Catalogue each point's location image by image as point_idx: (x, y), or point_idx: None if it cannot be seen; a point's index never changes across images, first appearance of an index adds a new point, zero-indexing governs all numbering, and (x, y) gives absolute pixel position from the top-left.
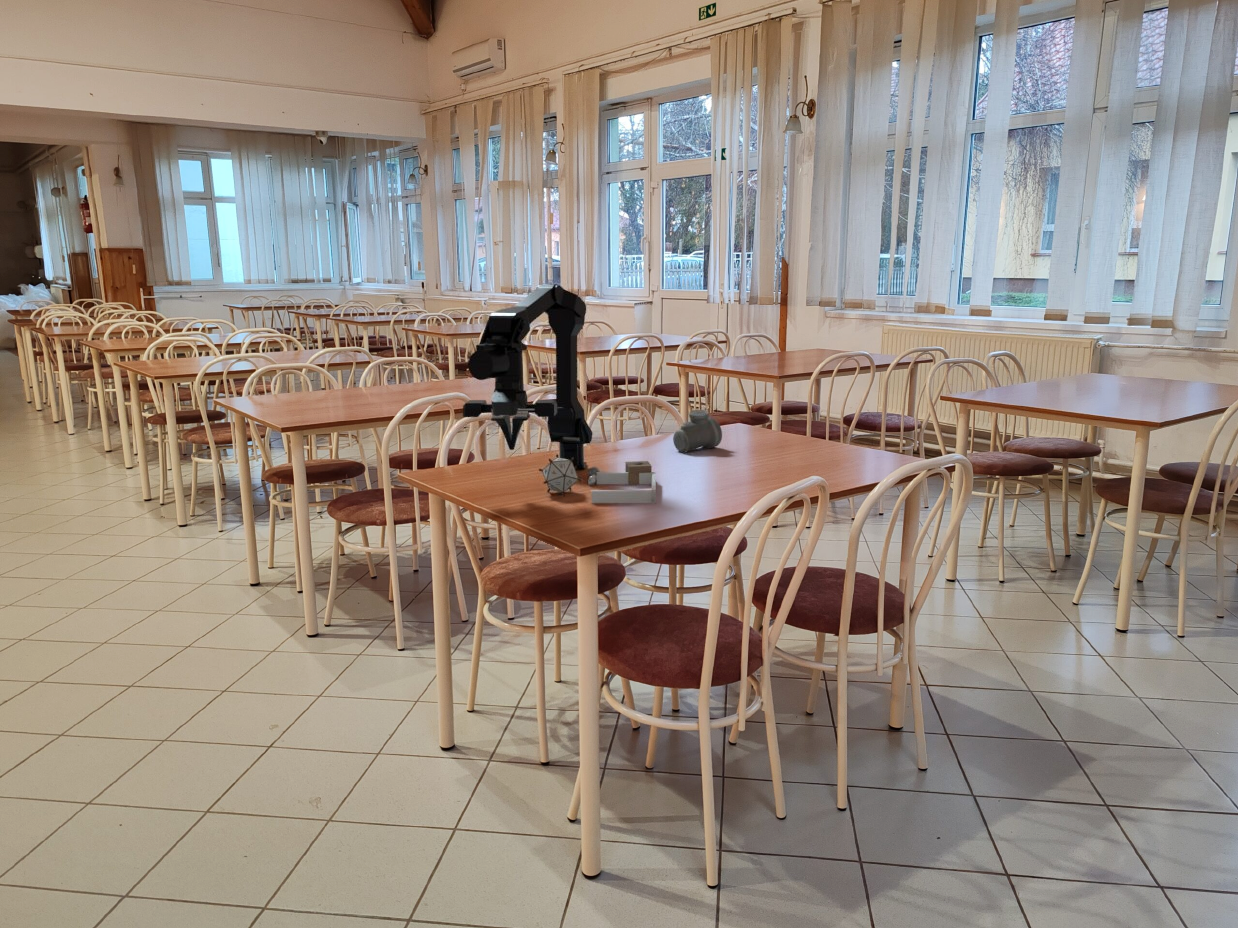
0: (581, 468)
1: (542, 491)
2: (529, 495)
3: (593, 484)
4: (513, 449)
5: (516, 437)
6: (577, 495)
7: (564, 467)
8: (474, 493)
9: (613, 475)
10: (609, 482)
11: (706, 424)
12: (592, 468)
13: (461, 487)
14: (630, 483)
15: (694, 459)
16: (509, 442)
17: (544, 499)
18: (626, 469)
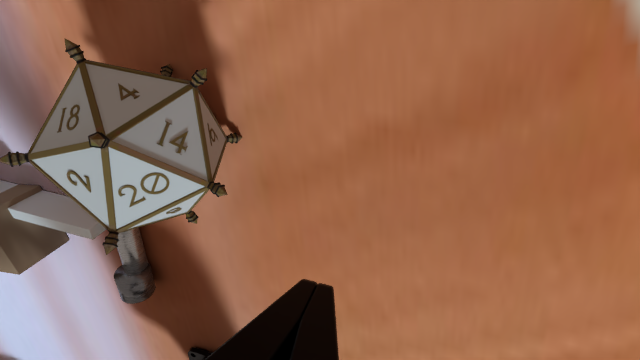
0: (194, 351)
1: (262, 155)
2: (303, 100)
3: None
4: (303, 279)
5: (220, 349)
6: None
7: (63, 107)
8: (564, 174)
9: (52, 213)
10: None
11: None
12: (125, 289)
13: (611, 284)
14: (32, 186)
15: (16, 345)
16: (312, 328)
17: (231, 20)
18: (27, 243)
